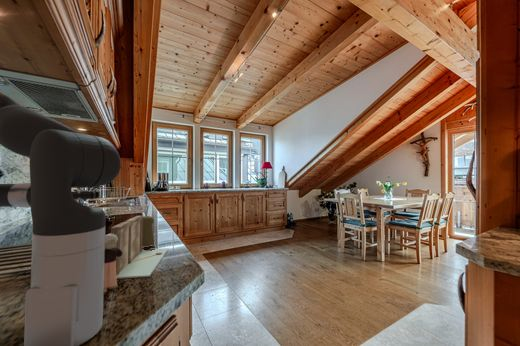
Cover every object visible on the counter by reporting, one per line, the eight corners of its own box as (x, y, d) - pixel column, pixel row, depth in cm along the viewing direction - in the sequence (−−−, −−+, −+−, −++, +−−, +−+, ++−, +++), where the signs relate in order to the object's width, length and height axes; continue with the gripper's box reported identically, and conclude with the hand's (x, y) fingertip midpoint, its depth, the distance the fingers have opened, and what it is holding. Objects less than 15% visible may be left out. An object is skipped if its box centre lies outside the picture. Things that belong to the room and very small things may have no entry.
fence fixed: (117, 275, 58) (118, 227, 59) (109, 276, 58) (110, 227, 58) (128, 264, 66) (130, 221, 66) (122, 264, 66) (123, 221, 66)
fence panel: (129, 262, 66) (130, 221, 67) (122, 262, 66) (124, 221, 66) (141, 250, 77) (142, 215, 77) (136, 250, 77) (137, 215, 77)
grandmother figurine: (100, 297, 48) (102, 238, 49) (86, 295, 49) (87, 237, 50) (128, 281, 56) (129, 230, 56) (115, 280, 57) (116, 229, 57)
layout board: (149, 276, 59) (149, 274, 59) (100, 279, 57) (100, 277, 57) (168, 249, 81) (168, 247, 81) (134, 250, 79) (134, 249, 79)
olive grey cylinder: (151, 242, 90) (152, 214, 90) (156, 245, 85) (157, 216, 86) (134, 245, 86) (135, 216, 86) (139, 249, 81) (140, 218, 82)
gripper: (15, 183, 63) (84, 184, 66) (51, 182, 77) (107, 183, 80) (14, 210, 63) (84, 209, 66) (50, 204, 77) (107, 204, 80)
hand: (96, 195), depth 73 cm, fingers closed
